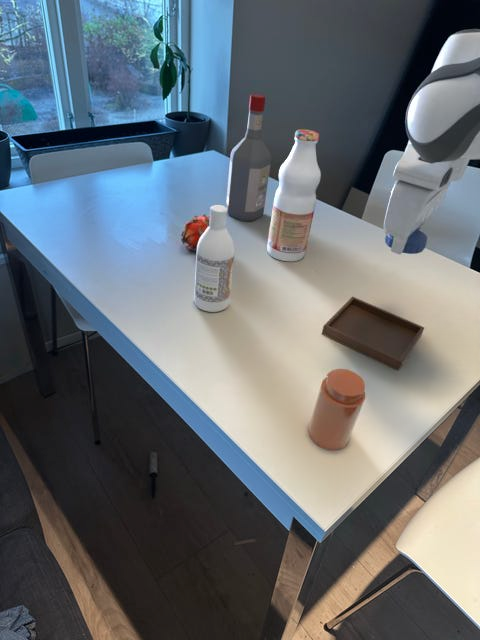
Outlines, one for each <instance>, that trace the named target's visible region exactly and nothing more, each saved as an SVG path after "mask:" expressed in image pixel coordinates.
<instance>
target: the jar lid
mask: <svg viewBox="0 0 480 640" xmlns="http://www.w3.org/2000/svg"><path fill="white" fill-rule="evenodd" d="M385 234H386V233H385ZM393 238H394V236H391V235H389V234H386V235H385V238H384V242H385V244H386V246H387V247H388V248H390V249H391V247H392V244H393ZM427 243H428V236H427V234H426V233H425V232H423V231H422V230H421V231H420V230H417V229H416V230H415V231H414V232H413V233H412V234H411V235H410V236H409V237H408V239H407V245H406V247H405V250H404V251H403V252H402V253H403V254H409V255H417V254H420V253H423V251H424V250H425V248H426V246H427ZM402 253H401V254H402Z"/></svg>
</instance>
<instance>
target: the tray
mask: <svg viewBox="0 0 480 640" xmlns="http://www.w3.org/2000/svg"><path fill="white" fill-rule="evenodd" d="M424 330H425V327H424V326H422V325H420V324H418V323H415V322H413V321H411V320H408V319H406V318H404V317H401V316H399V315H396V314H395V313H392V312H390V311H388V310H385V309H383V308H381V307H378V306H375V305H373V304H371V303H369V302H367V301H364V300H362V299H360V298H357V297H355V296H352V297H351V296H350V299H348V301H346V302H345V304H343V305H342V306H341V307H340V309H339V310H338V311H336V313H335V314H334V315H332V317H331V318H329V320H328V321H326V323H325V324H323V327H322V331H321V335H323V336H325V337H327V338H329V339H331V340H333V341H334V342H337V343H340V344H341V345H343V346H346V347H348V348H350V349H352V350H354V351H356V352H358V353H359V354H362V355H364V356H367V357H368V358H370V359H372V360H374V361H377V362H379V363H381V364H382V365H385V366H387V367H389V368H390V369H393V370H395V371H397V372H400V369H402V367H403V365H404V363H405V362H406V360H407V359H408V357H409V356H410V354H411V353H412V351H413V349H414V348H415V346H416V345H417V343H418V341H419V340H420V339H421V337H422V335H423V332H424Z"/></svg>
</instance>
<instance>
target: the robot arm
mask: <svg viewBox="0 0 480 640" xmlns="http://www.w3.org/2000/svg"><path fill="white" fill-rule="evenodd" d="M404 119H405V121H404V123H405V132H406V135H407V138H408V142H407V145H406V147H405V148H404V151H403V152H404V153H403V154H402V156H401V157H400V159H399V160H398V161H397V163H396V165H395V167H394V171H393V173H392V178H393V179H394V180H395V179H396V180H395V182H394V184H393V186H392V189H391V193H390V196H389V200H388V204H387V208H386V212H385V216H384V219H383V232H384V233H385V234H389V235H391V236H394V238H393V244H392V247H391V248H390V251H391V253H393V254H396V255H402V252H403V251H404V250H405V247H406V245H407V239H408V237H409V236H410V235H411V234H412V233H413V232H414V231H415V230H416V229H417V230H420V231H421V232H422V228H423V227H424V224H425V223H426V221H427V219H428V218H429V217H430V216H431V215H432V214H433V213H434V211H436V210H437V209H438V208H439V207H440V206H441V205H442V203H443V201H444V199H445V197H446V195H447V192H448V190H449V188H450V185H451V183H452V182H458V181H461V180H462V179H463V177H464V174H465V172H466V170H467V166H468V165H469V162H470V160H480V29H479V28H471V29H463V30H459V31H456V32H455V33H453V34H450V36H448V38H447V40H446V41H445V43H444V44H443V46H442V47H441V49H440V51H439V54H438V56H437V57H436V60H435V62H434V64H433V67H432V69H431V72H430V74H428V76H426V78H425V79H424V80H423V81H422V82H421V84H420V85H419V86H418V87H417V89H416V90H415V91H414V93H413V95H412V97H411V99H410V101H409V102H408V106H407V109H406V112H405V118H404Z"/></svg>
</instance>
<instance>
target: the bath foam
mask: <svg viewBox="0 0 480 640" xmlns="http://www.w3.org/2000/svg"><path fill="white" fill-rule="evenodd" d="M209 209H210V210H209V217H210V224H209V227H208V228H207V229H206V231H205V232H204V233H203V234H202V236H201V237H200V239H199V242H198V245H197V249H196V253H195V254H196V255H195V258H196V259H195V274H194V275H195V277H194V278H195V279H194V293H193V295H194V296H193V300H194V304H195V306H196V307H197V308H198V309H200V310H202V311H205V312H210V313H217V312H221V311H224V310H226V309H227V308H228V306H229V305H230V298H231V288H232V280H233V272H234V271H233V270H234V261H235V244H234V240H233V238H232V236H231V234H230V232H229V230H228V229H227V216H228V215H227V214H228V212H227V208H226V205H223V204H222V205H221V204H214V205H212V206H210V208H209Z"/></svg>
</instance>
